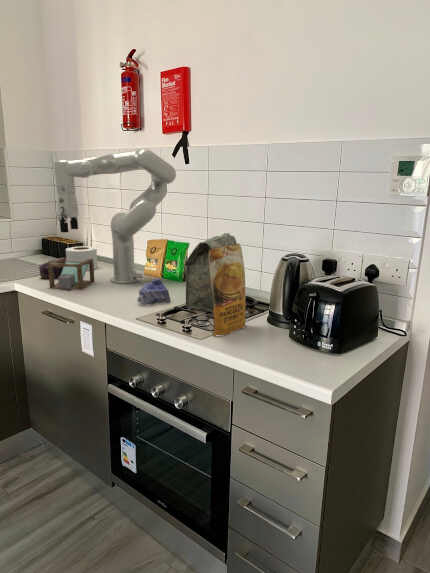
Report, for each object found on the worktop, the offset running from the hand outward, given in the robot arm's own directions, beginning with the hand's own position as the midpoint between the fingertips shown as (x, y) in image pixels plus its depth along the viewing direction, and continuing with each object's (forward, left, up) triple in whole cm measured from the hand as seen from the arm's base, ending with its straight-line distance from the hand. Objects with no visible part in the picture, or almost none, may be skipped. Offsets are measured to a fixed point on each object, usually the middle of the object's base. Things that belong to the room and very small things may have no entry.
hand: (69, 230), depth 190 cm
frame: (+1, -1, -25) cm, 25 cm away
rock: (+15, -13, -25) cm, 32 cm away
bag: (-65, +17, -25) cm, 72 cm away
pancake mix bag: (-73, +45, -25) cm, 90 cm away
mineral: (-41, +18, -25) cm, 52 cm away
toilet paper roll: (+11, -35, -25) cm, 44 cm away
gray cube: (0, +3, -21) cm, 21 cm away
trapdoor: (+1, -2, -20) cm, 20 cm away
